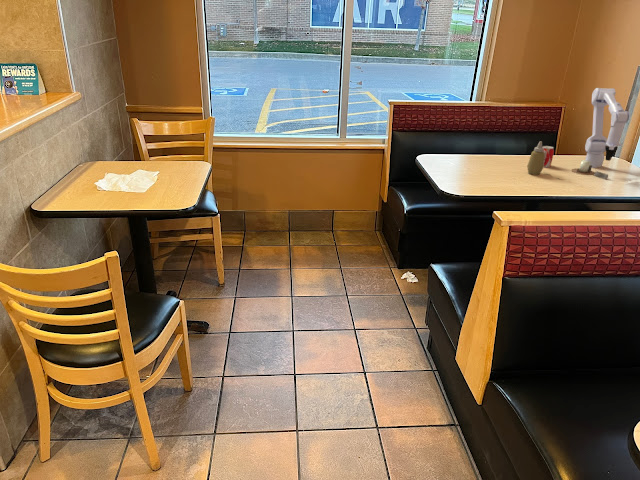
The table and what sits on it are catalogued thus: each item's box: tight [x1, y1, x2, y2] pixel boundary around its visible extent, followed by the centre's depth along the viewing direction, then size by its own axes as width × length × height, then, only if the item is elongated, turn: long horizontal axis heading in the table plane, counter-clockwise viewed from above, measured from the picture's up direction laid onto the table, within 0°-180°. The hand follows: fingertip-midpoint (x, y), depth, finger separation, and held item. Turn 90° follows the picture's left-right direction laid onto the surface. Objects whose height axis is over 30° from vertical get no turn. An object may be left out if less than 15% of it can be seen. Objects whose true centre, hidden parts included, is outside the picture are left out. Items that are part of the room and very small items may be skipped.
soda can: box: [542, 145, 555, 168], centre depth 267 cm, size 7×7×12 cm
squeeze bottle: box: [526, 140, 545, 176], centre depth 255 cm, size 8×8×18 cm
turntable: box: [570, 165, 609, 180], centre depth 256 cm, size 20×12×4 cm, turn 25°
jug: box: [578, 159, 591, 172], centre depth 258 cm, size 6×4×6 cm
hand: (607, 160), depth 251 cm, fingers closed
